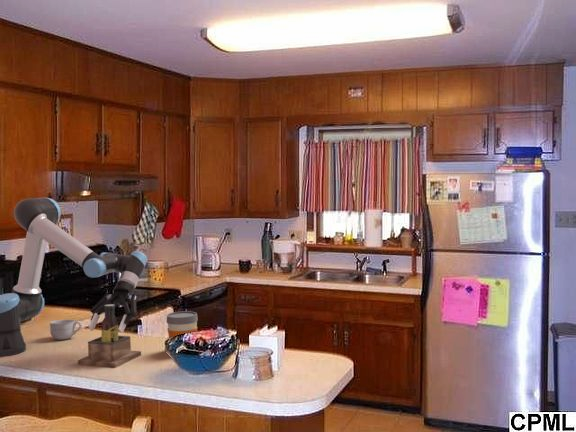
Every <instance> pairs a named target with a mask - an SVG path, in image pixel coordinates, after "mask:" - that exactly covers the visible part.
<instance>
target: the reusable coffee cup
mask: <svg viewBox="0 0 576 432" xmlns="http://www.w3.org/2000/svg"><path fill="white" fill-rule="evenodd" d="M198 317H199V316H198V313H197V312H195V311H189V310H187V311H184V310H183V311H182V310H181V311H175V312H170V313H168V314H166V324H167V327H168V328H167V335H168V339H169V338H171V337H174V336H176V335H179V334H184V333H189V332H194V331H197V332H198V326H197V325H198Z"/></svg>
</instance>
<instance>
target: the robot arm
mask: <svg viewBox="0 0 576 432" xmlns="http://www.w3.org/2000/svg"><path fill="white" fill-rule="evenodd" d="M61 215H62V214H61V208H60V205H59V204H58V202H57V201H56V200H54V199H53V198H49V197H44V196H43V197H42V196H41V197H34V198H24V199H21V200H19V202H17V204H16V205H15V207H14V209H13V217H14V219H15V221H16V223H17V224H18V225H19V226H20V227H22V229H24V230H25V231H26V235H25V241H24V247H23V253H22V259H21V265H20V270H19V274H18V275H19V276H18V279H17V280H18V281H17V284H16V285H14V286H13V287H12V292H11V293H9V292H8V293H3V294H0V357H8V356H13V355H18V354H21V353H24V352H26V350H27V344H26V342H25V340H24V337H23V334H22V331H21V330H22V329H21V322H23V321H26V320H29V319H33V318H34V317H36V316H38V315H39V314H41V313H42V311H43V309H44V307H45V297H43V294H42V293H43V292H42V289H41V287H40V281H41V276H42V270H43V266H44V265H43V264H44V260H45V254H46V248H47V244H50V246H52V247H54V248H55V249H57V250H58V251H59V252H60V253H62V254H63V255H65V256H66V257H68V258H69V259H70V260H72V261H73V262H74V263H76V264H77V265H79V266H80V267H81V268H83V272H84V274H85V275H86V276H87V277H89V278H99V277H100V278H101V276H104V275H107V274H111V273H119V274H120V275H119V278H118V280H117V282H116V285H115V286H114V289H113V293H111V294H110V293H108V292H105V294H104V296H103V297H102V298H101V299H100V300H99V301H98V302H97V303H96V304H95V305H94V306H93V307H92V308H91V309H90V310H89V311H90V312H91V313H92V316H91V318H90V323H89V325H88V327H87V328H88V329H89V330H90V331H91V332H93V331H94V330H95V328H96V326H97V324H98V322H99V320H100V317H101V316H100V315H102V314H103V313H105V309H104V305H109V304H113V305H115V306H121V307H122V306H123V309H124V311H125V314H124V315H123V317H122V319H121V321H120V324H119V325H118V332H120V333H121V334H124V331H125V329H126V326H127V325H129V323H130V321H131V319H132V318H133V317H134V318H136V317H137V316H138V314H137V313H138V311H137V300H138V297H137V296H136V294H135V293H134V291H135V289H136V287H137V285H138V282H139V280H140V278H141V276H142V273H143V271H144V269H145V267H146V265H147V261H148V257H147V255H146V254H145V253H143V252H141V251H139V250H135V251H132V252H131V253H130V254H129V255H125V254H124V255H123V254H117V253H113V252H106V251H105V252H101V253H100V254H97V253H96V252H94V250H92V249H91V248H89V247H88V246H86V245H85V244H83V243H82V242H81V241H79V240H78V239H77V238H75V237H74V236H72V235H71V234H69V233H68V231H65V230H64V229H63V228H61V227H59V226H58V225H57V224H56V223H57V222H58V221H59V220H60V218H61ZM129 301H130V307H129V304H128V302H129Z"/></svg>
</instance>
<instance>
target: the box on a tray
mask: <svg viewBox="0 0 576 432" xmlns="http://www.w3.org/2000/svg"><path fill="white" fill-rule="evenodd" d="M131 345H132V344H131V336H129V335H118V340H117V341H115V342H113V343H109V342H102V335H101V336H99V337H97V338H95V339H94V338H93V339H91V340H89V341H87V352H88V355H87V356H84V357H82V358H79V359H78V360H77V365H85V366H94V367H95V366H96V367H107V368H118V367H119V366H122V365H124V364H126V363H127V362H130V361H132V360H134V359H136V358H138V357H141V356H142V351H140V350H132V346H131Z"/></svg>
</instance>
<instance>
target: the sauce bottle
mask: <svg viewBox="0 0 576 432" xmlns="http://www.w3.org/2000/svg"><path fill="white" fill-rule="evenodd" d="M104 309H105V311H104V317H103V319H102V322H101V336H102V342H109V343H113V342H115V341H117V340H118V336H119V330H118V328H119V324H118V321H117V318H116V315H115V309H116V305H113V304H109V305H104Z"/></svg>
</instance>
